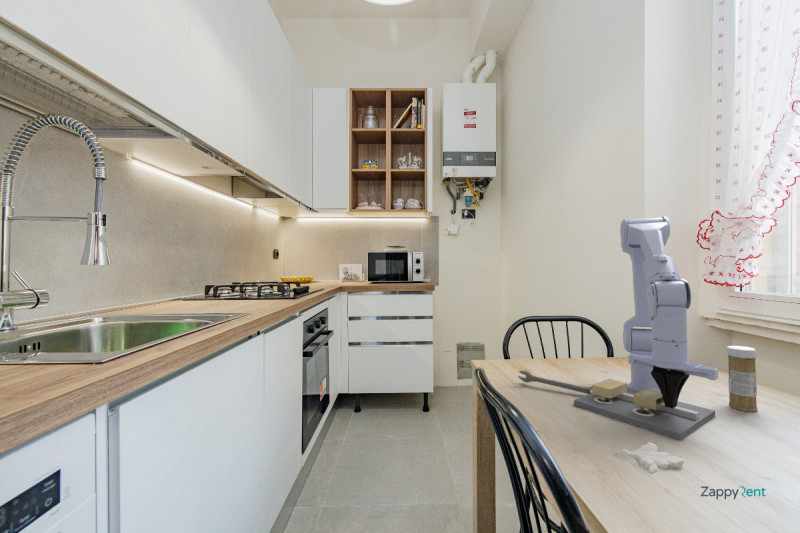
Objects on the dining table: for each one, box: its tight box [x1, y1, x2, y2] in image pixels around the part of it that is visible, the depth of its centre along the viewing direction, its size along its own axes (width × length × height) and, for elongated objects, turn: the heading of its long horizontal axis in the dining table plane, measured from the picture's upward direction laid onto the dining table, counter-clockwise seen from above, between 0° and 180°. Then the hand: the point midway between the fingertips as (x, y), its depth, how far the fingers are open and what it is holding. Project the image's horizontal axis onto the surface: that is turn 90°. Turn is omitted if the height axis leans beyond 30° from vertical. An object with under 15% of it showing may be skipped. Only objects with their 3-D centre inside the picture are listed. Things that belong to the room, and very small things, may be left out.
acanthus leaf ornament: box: [620, 441, 685, 474], centre depth 57 cm, size 8×7×2 cm
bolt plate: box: [573, 378, 716, 441], centre depth 75 cm, size 18×20×4 cm
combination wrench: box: [517, 370, 592, 395], centre depth 89 cm, size 4×1×20 cm
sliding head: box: [634, 387, 665, 413], centre depth 73 cm, size 8×4×3 cm, turn 123°
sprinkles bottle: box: [726, 345, 758, 413], centre depth 76 cm, size 5×5×14 cm
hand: (670, 406), depth 70 cm, fingers closed
